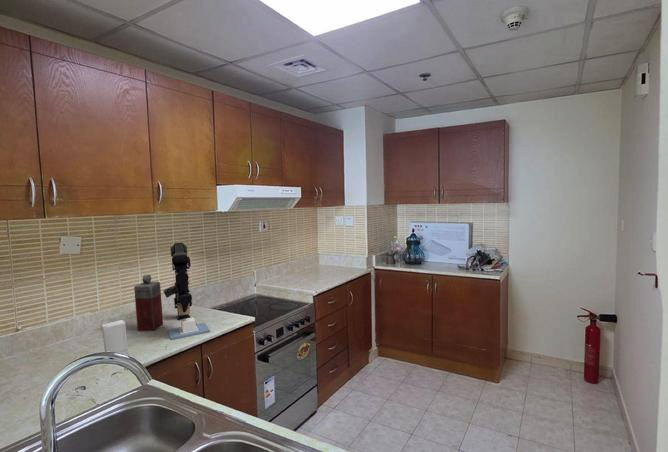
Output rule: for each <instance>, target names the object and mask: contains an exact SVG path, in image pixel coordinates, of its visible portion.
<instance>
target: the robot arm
mask: <svg viewBox="0 0 668 452" xmlns="http://www.w3.org/2000/svg"><path fill="white" fill-rule="evenodd" d="M169 249H170V257H171V265H172V271H174V276H175V277H174V278H175V282H174V285H172V286H169V287H167V288H165V289H164V290H163V291H162V292H163V294H164V296H165V298H170V297H171V296H173V295H174V298H173V303H174V309H177V312H178V305H177V303H181V306H182V309H183V312H186V310H187V308H188V305H190V308H191V307H192V306H193V303H192V301H193V297H192V296H193V295H192V293H190V289H189V284H190V283H189V282H190V281H189V279H190V278H189V274H188V270H190V268H191V267H192V265H191V258H190V256H189V255H188V247H187V245H185V244H184V242H175V243H173V245H172V246H171V247H170V248H169ZM187 318H191V314H186V315H180V316H179V314H178V313H177V315H176V319H177V320H178V321H181V319H187Z"/></svg>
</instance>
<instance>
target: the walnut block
mask: <svg viewBox="0 0 668 452" xmlns="http://www.w3.org/2000/svg"><path fill="white" fill-rule="evenodd" d="M177 305H178V311H177V315H178V314H179V316H180V315H186V314H189V315H191V309H190V308H191V307H190V305H188V308H187V310H186V312H183V309H182V306H181V303H177Z"/></svg>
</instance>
